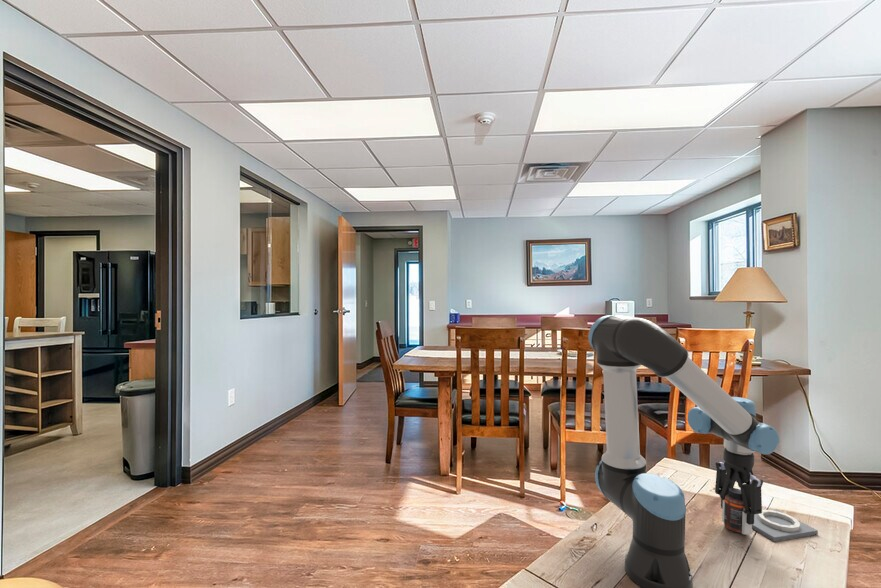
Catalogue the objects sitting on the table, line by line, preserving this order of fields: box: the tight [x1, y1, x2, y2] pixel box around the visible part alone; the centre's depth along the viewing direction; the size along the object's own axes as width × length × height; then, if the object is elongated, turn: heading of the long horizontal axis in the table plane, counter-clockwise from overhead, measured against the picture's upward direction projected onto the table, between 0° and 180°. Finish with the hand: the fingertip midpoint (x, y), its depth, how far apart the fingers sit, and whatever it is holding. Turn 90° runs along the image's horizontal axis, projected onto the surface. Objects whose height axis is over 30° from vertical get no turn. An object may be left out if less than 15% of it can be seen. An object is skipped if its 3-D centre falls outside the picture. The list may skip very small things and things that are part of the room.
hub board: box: [752, 509, 819, 543], centre depth 129 cm, size 16×12×2 cm
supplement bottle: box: [723, 487, 745, 534], centre depth 127 cm, size 6×6×11 cm
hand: (736, 527), depth 127 cm, fingers closed on supplement bottle, 6 cm apart
